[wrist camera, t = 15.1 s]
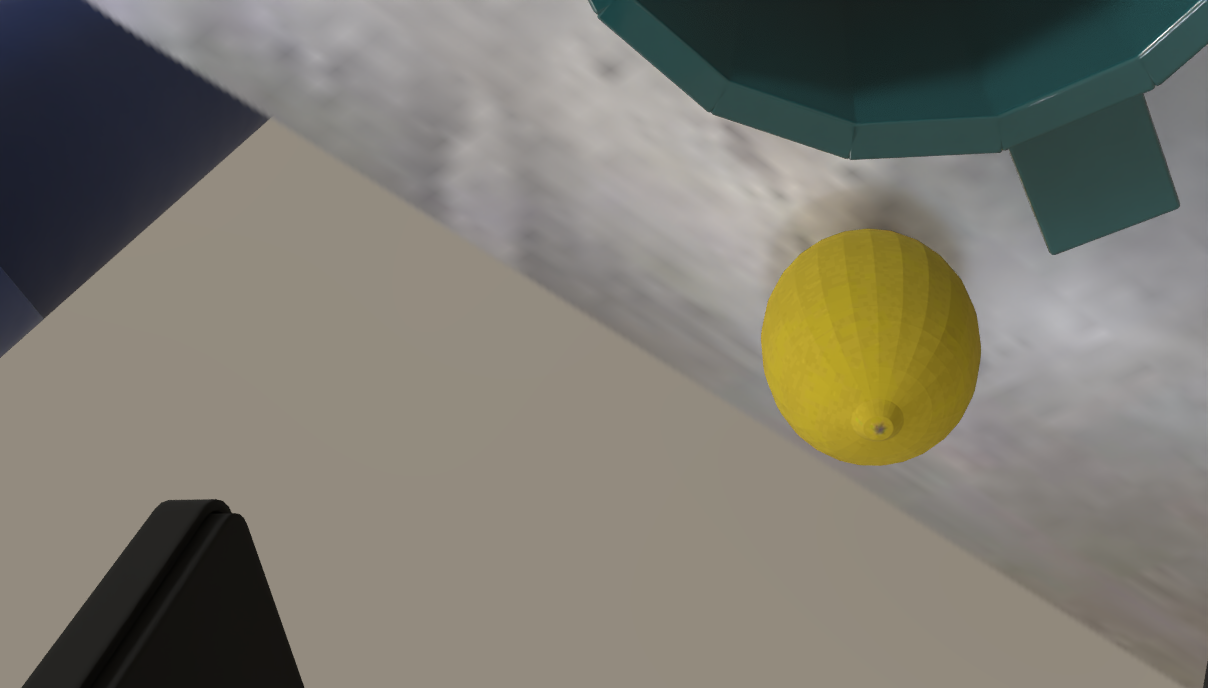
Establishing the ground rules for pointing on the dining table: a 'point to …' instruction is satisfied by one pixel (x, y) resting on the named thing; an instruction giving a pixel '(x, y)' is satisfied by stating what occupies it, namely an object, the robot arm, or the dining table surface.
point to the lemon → (871, 347)
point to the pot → (945, 86)
